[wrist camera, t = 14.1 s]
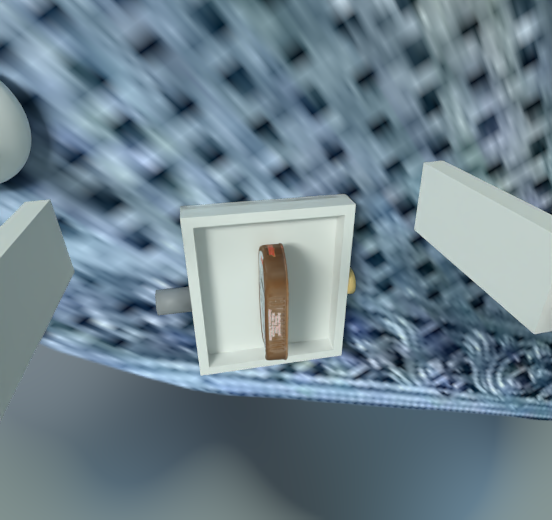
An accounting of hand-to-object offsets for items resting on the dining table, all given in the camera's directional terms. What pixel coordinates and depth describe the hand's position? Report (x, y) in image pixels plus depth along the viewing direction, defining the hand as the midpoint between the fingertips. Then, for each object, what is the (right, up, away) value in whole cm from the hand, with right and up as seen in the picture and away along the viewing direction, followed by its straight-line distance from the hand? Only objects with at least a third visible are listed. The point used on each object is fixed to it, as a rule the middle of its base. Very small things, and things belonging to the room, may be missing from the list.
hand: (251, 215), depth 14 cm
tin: (0, -5, +37) cm, 37 cm away
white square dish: (-2, -5, +37) cm, 38 cm away
